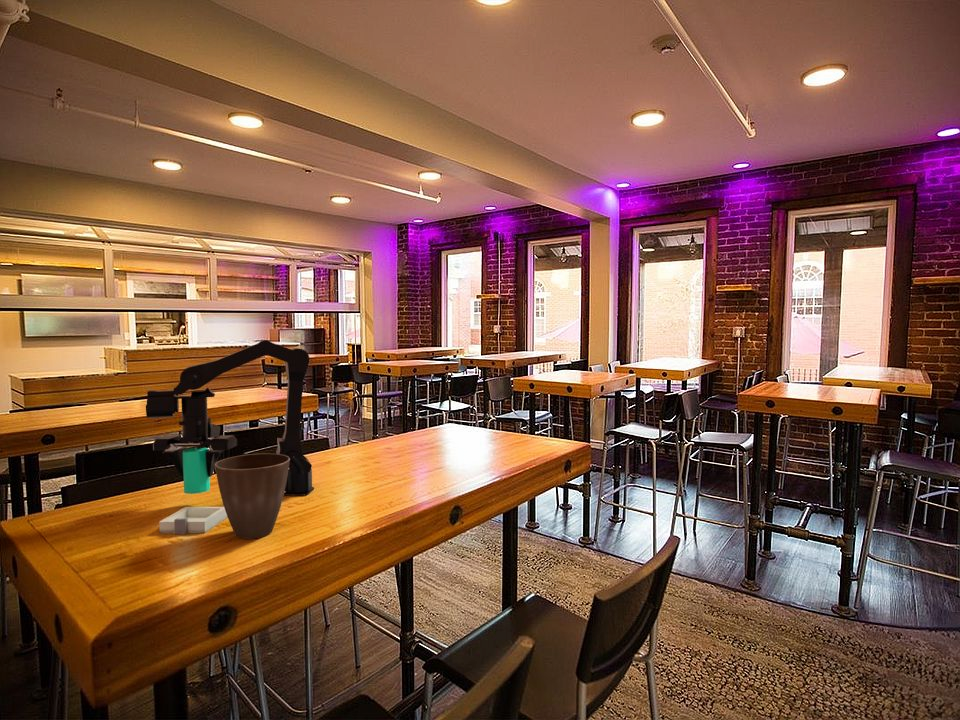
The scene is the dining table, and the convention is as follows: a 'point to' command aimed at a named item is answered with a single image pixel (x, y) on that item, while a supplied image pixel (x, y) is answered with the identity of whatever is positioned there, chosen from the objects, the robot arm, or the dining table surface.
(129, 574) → the dining table surface
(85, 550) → the dining table surface
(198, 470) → the candle
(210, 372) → the robot arm
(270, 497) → the plant pot
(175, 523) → the white square tray
